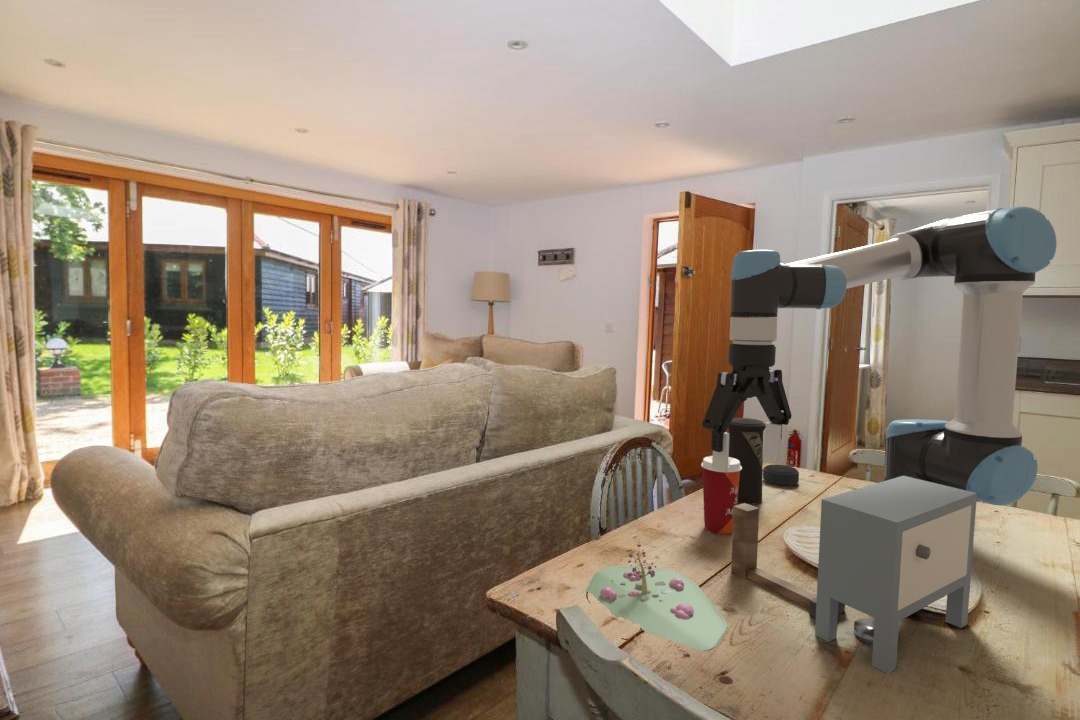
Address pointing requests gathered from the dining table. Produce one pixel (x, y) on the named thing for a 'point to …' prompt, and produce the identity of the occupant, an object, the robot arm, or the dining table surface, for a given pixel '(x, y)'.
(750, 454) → the container
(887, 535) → the cabinet
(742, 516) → the pusher tool
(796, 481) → the smart speaker
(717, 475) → the coffee cup
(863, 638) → the silver flat dome
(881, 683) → the dining table surface
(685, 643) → the miniature garden model
